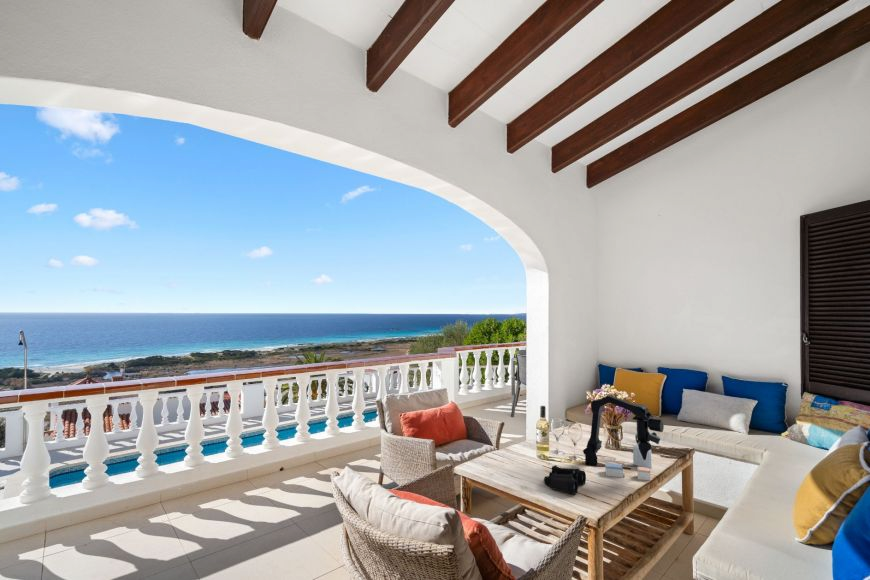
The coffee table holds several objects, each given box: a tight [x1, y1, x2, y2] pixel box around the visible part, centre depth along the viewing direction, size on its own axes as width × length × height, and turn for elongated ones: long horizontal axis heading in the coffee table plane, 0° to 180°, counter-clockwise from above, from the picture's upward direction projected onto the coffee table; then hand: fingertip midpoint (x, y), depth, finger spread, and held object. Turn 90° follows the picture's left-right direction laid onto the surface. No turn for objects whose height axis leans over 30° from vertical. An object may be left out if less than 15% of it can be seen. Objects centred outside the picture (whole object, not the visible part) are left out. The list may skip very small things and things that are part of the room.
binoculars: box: [543, 465, 587, 495], centre depth 219 cm, size 22×19×10 cm
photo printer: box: [632, 444, 653, 470], centre depth 245 cm, size 10×4×12 cm, turn 43°
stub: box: [636, 466, 652, 481], centre depth 227 cm, size 6×5×5 cm
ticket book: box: [604, 462, 626, 478], centre depth 233 cm, size 10×6×5 cm, turn 69°
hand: (643, 457), depth 228 cm, fingers open, 9 cm apart
